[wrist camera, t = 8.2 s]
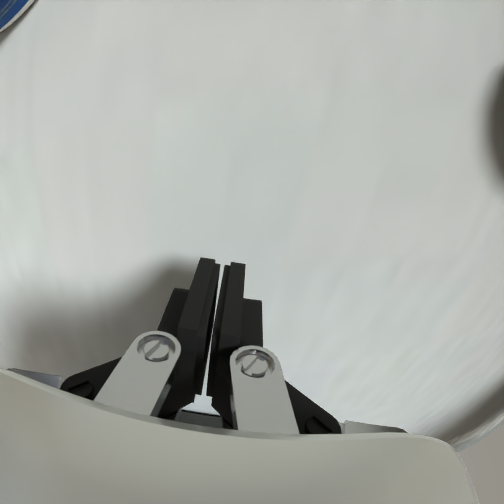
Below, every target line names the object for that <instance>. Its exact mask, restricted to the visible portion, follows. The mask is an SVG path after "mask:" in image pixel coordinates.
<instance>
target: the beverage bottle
mask: <svg viewBox="0 0 504 504" xmlns="http://www.w3.org/2000/svg"><path fill="white" fill-rule="evenodd" d="M33 2H34V0H0V32H1V31H3V30H4V29H6V28H7V27H8V26H10V25H11V24H12V23H13V22H14V21H15V20H16V19H18V18H19V17H20V16H21V15H22V14H23V13H24V12H25V11H26V10H27V8H28V7H29V6H30V5H31V4H32V3H33Z"/></svg>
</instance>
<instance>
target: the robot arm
mask: <svg viewBox="0 0 504 504" xmlns="http://www.w3.org/2000/svg"><path fill="white" fill-rule="evenodd" d="M219 272H220V264H215V260H214V259H208V258H200V261H199V264H198V267H197V270H196V272H195V275H194V278H193V281H192V284H191V287H190V290H186V289H179V288H174V290H173V292H172V295H171V297H170V300H169V302H168V305H167V307H166V309H165V312H164V314H163V317H162V320H161V322H160V325H159V327H158V330H157V331H149V332H145V333H143V334H141V335H139V336H138V337H137V338H136V339H135V340H134V341H133V342H132V344H131V345H130V347H129V348H128V350H127V351H126V353H125V354H124V356H123V357H121V358H118V359H116V360H113V361H110V362H108V363H105V364H102V365H100V366H97V367H94V368H92V369H89V370H86V371H83V372H81V373H78V374H75V375H72V376H71V377H69V378H67V379H66V380H63V379H62V378H61V376H57V375H50V374H43V373H37V372H31V371H25V370H20V369H6V370H5V369H2V368H0V504H479V501H478V498H477V495H476V492H475V489H474V486H473V483H472V480H471V478H470V475H469V473H468V471H467V469H466V467H465V465H464V462H463V461H462V459H461V457H460V456H459V454H458V453H457V451H456V450H455V449H454V448H453V447H452V446H451V445H449V444H448V443H446V442H444V441H442V440H439V439H436V438H433V437H429V436H425V435H420V434H411V433H407V432H406V431H404V430H403V429H400V428H396V427H387V426H379V425H372V424H365V423H359V422H353V421H347V420H346V421H345V422H344V423H340V422H338V421H337V420H336V419H335V418H334V417H333V416H332V415H330V414H329V413H328V412H326V411H325V410H324V409H322V408H321V407H320V406H318V405H317V404H315V403H314V402H313V401H311V400H310V399H309V398H307V397H306V396H305V395H303V394H302V393H301V392H300V391H298V390H297V389H296V388H294V387H293V386H292V385H290V384H289V383H288V382H287V381H285V380H284V376H283V373H282V369H281V365H280V362H279V360H278V358H277V357H276V356H275V355H274V354H273V353H272V352H271V351H269V350H268V349H266V348H263V328H262V301H260V300H253V299H245V298H243V294H244V279H245V264H241V263H235V262H231V266H229V265H225V267H224V272H223V277H222V283H221V288H220V293H219V299H218V304H217V310H216V316H215V321H214V314H215V305H216V297H217V288H218V280H219ZM213 323H214V327H213ZM212 329H213V334H212ZM211 335H212V342H211V351H210V361H209V371H208V382H207V392H206V396H211V397H212V404H211V406H212V407H213V408H214V409H215V410H216V411H217V412H218V413H219V414H220V415H221V417H220V424H221V428H214V427H207V426H200V425H194V424H188V423H182V422H178V419H179V417H180V414H181V410H182V407H184V406H186V405H188V404H190V403H192V402H193V403H194V399H195V394H198V395H201V394H202V388H203V382H204V376H205V370H206V364H207V358H208V352H209V346H210V341H211Z"/></svg>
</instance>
